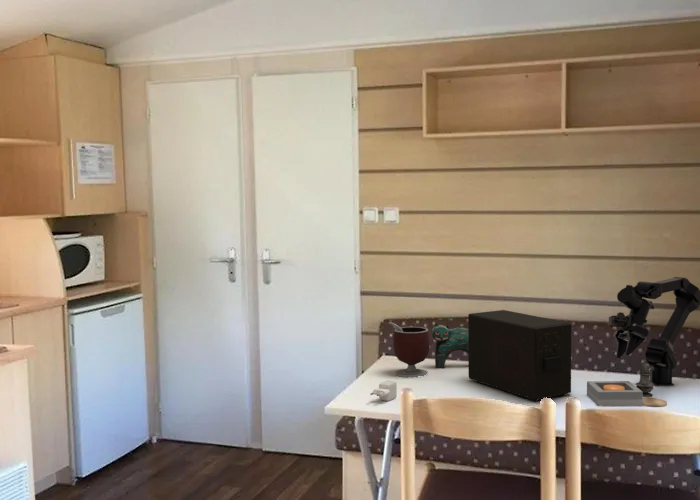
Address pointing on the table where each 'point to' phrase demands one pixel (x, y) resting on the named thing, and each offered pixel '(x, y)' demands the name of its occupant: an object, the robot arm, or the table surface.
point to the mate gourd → (411, 348)
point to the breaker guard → (614, 394)
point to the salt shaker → (645, 380)
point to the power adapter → (386, 390)
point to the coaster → (654, 402)
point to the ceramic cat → (448, 342)
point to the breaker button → (613, 387)
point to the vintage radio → (520, 353)
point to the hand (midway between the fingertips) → (622, 356)
